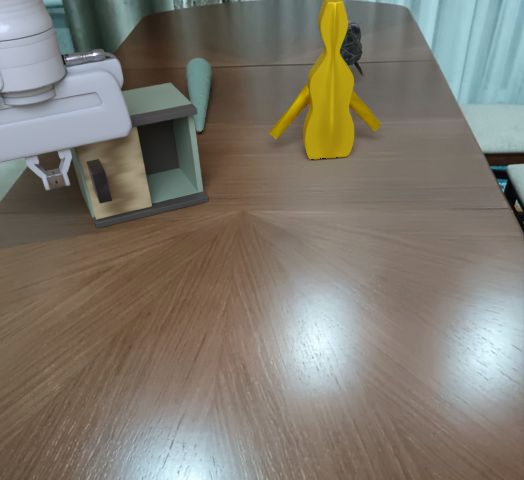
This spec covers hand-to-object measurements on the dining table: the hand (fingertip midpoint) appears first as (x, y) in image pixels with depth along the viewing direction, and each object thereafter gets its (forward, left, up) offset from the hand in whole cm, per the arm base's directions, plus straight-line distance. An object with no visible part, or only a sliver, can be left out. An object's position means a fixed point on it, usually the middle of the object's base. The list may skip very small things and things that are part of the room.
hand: (57, 186), depth 69 cm
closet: (+11, +10, -8) cm, 17 cm away
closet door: (+7, +2, -7) cm, 11 cm away
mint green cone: (+30, +40, -8) cm, 51 cm away
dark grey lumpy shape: (+57, +36, -8) cm, 68 cm away
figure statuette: (+41, +9, -8) cm, 43 cm away
